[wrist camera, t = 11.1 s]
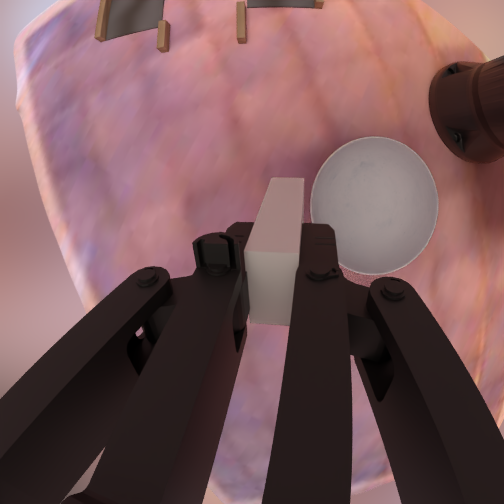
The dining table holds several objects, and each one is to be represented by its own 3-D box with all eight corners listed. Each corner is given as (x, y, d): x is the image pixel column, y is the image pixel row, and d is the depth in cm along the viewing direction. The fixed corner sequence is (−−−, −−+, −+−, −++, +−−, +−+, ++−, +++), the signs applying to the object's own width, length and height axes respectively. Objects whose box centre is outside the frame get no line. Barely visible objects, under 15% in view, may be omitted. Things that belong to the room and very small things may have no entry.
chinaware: (421, 160, 36) (450, 160, 28) (395, 265, 40) (417, 285, 32) (316, 128, 36) (326, 119, 28) (291, 242, 40) (295, 260, 32)
